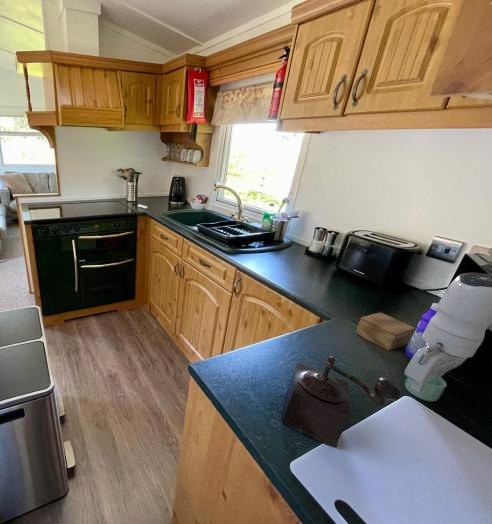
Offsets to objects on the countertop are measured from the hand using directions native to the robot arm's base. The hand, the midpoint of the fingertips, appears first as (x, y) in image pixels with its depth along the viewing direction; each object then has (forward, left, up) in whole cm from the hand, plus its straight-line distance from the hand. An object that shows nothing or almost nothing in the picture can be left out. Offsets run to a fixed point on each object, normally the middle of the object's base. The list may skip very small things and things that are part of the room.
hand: (424, 384), depth 72 cm
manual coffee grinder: (+3, +34, -3) cm, 34 cm away
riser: (+18, -17, -2) cm, 25 cm away
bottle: (+8, -17, -3) cm, 19 cm away
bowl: (0, 0, -2) cm, 2 cm away
